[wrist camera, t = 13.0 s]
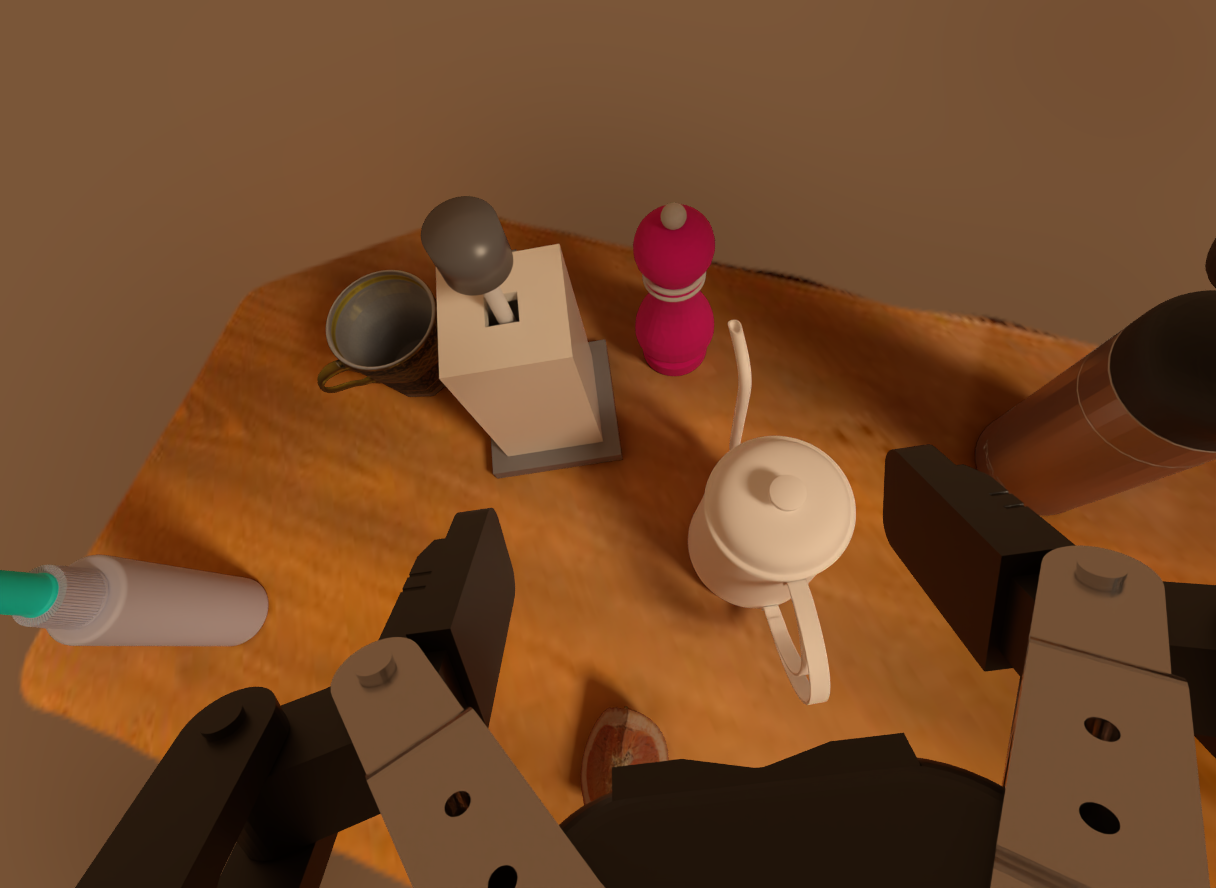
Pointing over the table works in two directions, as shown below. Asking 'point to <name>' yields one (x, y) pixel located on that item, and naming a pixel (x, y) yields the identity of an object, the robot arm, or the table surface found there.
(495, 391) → the dispenser
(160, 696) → the table surface
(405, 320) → the ceramic cup
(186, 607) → the spray bottle
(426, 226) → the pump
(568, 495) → the table surface
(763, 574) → the coffeepot
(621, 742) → the fruit slice
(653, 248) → the pepper mill
